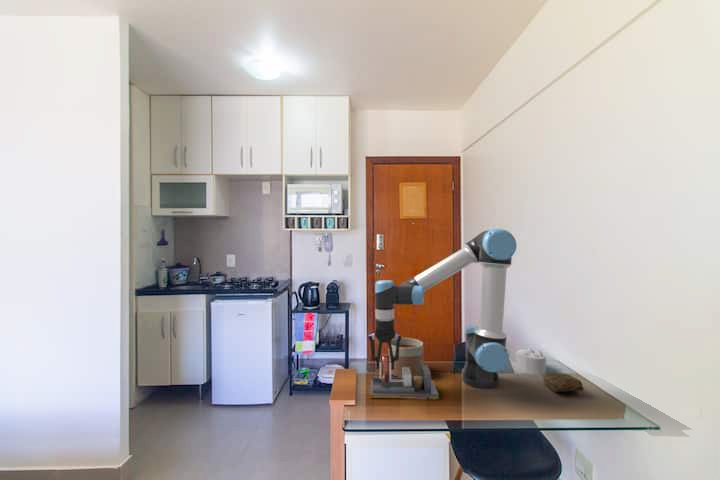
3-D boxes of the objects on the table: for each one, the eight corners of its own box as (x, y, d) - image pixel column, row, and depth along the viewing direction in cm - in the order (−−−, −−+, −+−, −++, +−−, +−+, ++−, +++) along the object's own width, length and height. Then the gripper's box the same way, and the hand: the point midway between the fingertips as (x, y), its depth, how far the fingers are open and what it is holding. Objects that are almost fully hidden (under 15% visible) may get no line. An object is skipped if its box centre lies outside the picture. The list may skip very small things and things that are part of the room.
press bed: (432, 385, 138) (432, 363, 139) (438, 399, 125) (438, 375, 126) (370, 384, 140) (370, 362, 140) (370, 398, 127) (369, 374, 127)
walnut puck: (422, 384, 134) (422, 375, 134) (423, 388, 130) (423, 379, 130) (412, 384, 134) (412, 375, 135) (413, 388, 130) (413, 379, 131)
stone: (567, 384, 139) (565, 369, 140) (585, 396, 125) (583, 380, 126) (541, 384, 140) (540, 370, 141) (557, 396, 127) (555, 381, 127)
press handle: (409, 381, 137) (409, 352, 137) (411, 390, 128) (411, 359, 129) (381, 381, 137) (381, 352, 138) (381, 390, 129) (381, 359, 129)
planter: (384, 376, 148) (383, 345, 148) (394, 364, 163) (394, 336, 163) (419, 381, 142) (418, 349, 142) (426, 368, 157) (426, 339, 157)
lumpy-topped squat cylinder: (531, 363, 162) (531, 346, 162) (552, 373, 150) (552, 354, 150) (513, 365, 160) (513, 347, 160) (532, 375, 147) (532, 356, 147)
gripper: (404, 317, 137) (404, 374, 136) (364, 316, 138) (365, 373, 137) (405, 321, 129) (406, 381, 129) (364, 321, 130) (364, 381, 130)
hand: (385, 377), depth 133 cm, fingers closed on press handle, 3 cm apart
